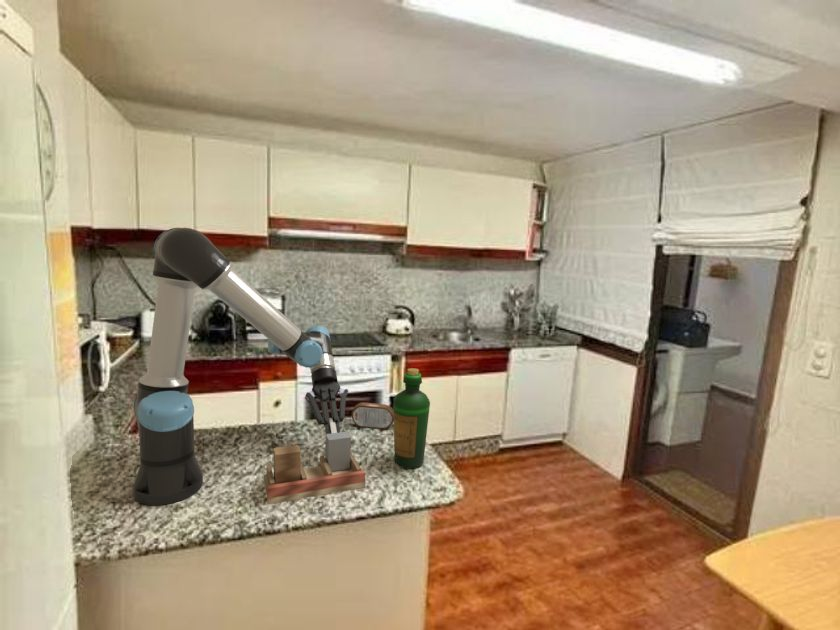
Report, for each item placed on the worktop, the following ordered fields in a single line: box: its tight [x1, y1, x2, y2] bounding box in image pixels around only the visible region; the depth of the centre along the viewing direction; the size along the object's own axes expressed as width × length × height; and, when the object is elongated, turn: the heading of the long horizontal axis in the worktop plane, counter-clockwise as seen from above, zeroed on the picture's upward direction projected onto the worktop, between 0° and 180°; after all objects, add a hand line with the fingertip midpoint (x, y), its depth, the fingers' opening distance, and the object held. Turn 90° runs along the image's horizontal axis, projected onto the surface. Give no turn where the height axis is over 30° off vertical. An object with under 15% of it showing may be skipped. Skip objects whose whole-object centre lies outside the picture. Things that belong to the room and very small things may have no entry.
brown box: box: [273, 444, 302, 484], centre depth 113 cm, size 6×5×9 cm
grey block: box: [324, 431, 352, 472], centre depth 123 cm, size 6×5×9 cm
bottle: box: [393, 367, 431, 469], centre depth 130 cm, size 11×11×28 cm
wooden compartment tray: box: [263, 452, 366, 505], centre depth 117 cm, size 24×12×4 cm, turn 114°
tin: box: [351, 401, 394, 430], centre depth 156 cm, size 15×3×8 cm, turn 84°
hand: (335, 445), depth 126 cm, fingers closed
